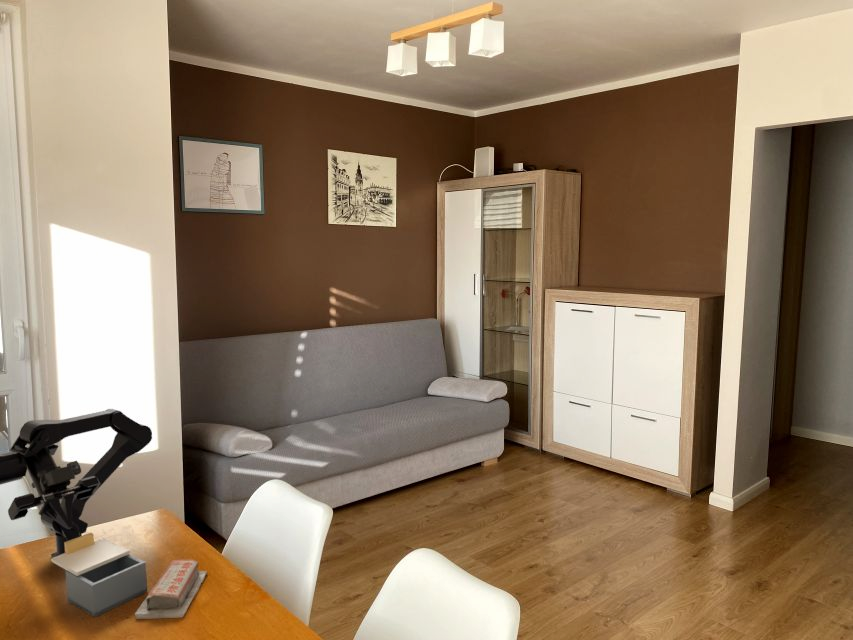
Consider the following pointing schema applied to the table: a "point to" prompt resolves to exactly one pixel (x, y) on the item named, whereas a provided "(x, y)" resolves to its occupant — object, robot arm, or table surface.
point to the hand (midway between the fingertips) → (70, 528)
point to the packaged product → (172, 591)
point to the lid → (88, 554)
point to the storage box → (107, 585)
